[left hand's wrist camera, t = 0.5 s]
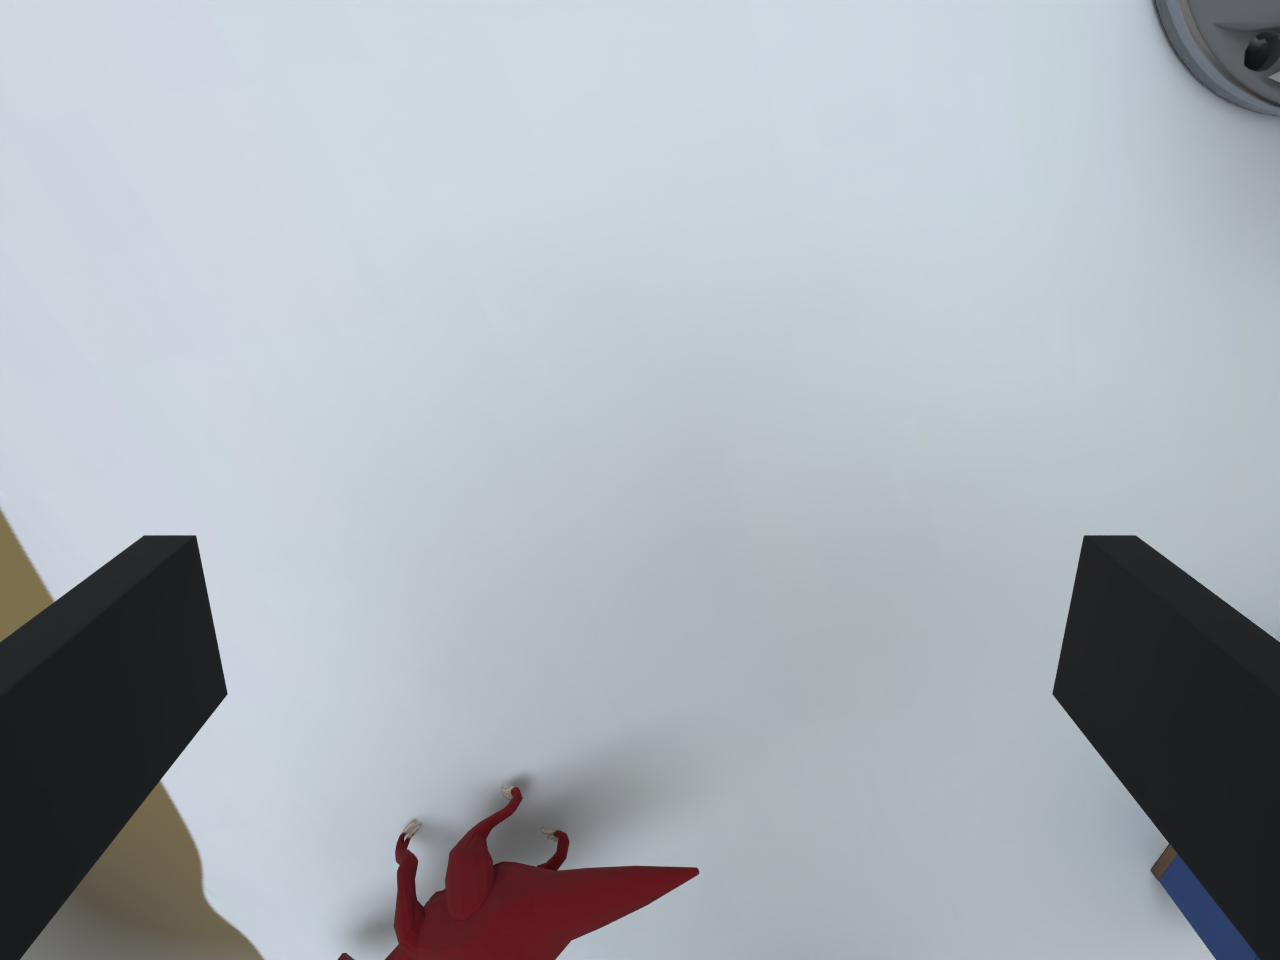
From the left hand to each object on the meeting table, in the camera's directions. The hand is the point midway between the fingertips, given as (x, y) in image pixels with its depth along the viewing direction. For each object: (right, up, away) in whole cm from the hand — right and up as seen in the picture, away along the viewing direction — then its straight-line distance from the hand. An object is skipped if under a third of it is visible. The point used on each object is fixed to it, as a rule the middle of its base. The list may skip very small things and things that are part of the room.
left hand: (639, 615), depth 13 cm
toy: (-8, -18, +36) cm, 41 cm away
